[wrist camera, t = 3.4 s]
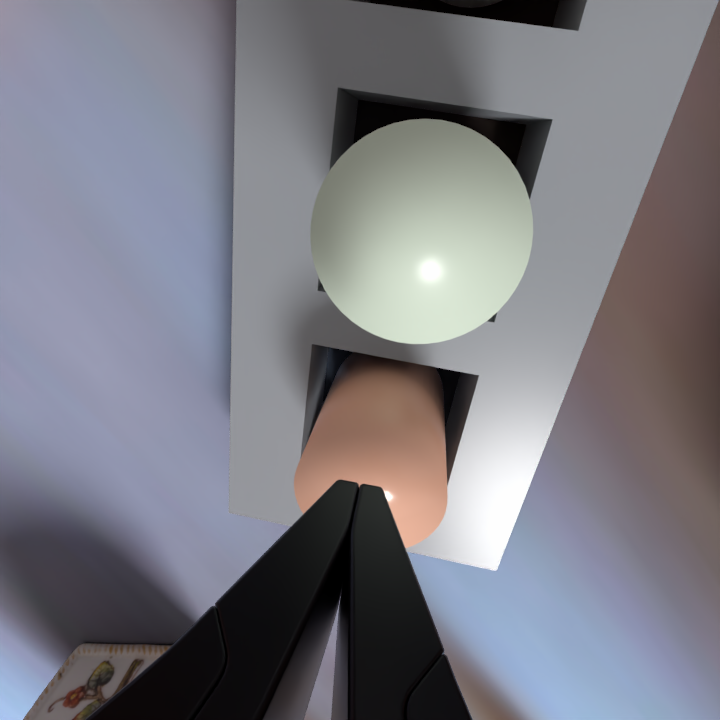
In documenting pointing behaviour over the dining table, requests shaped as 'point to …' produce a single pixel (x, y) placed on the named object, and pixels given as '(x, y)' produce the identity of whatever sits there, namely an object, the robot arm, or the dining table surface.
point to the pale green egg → (421, 231)
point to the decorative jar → (92, 679)
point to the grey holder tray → (546, 194)
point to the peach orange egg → (382, 441)
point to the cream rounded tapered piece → (471, 3)
